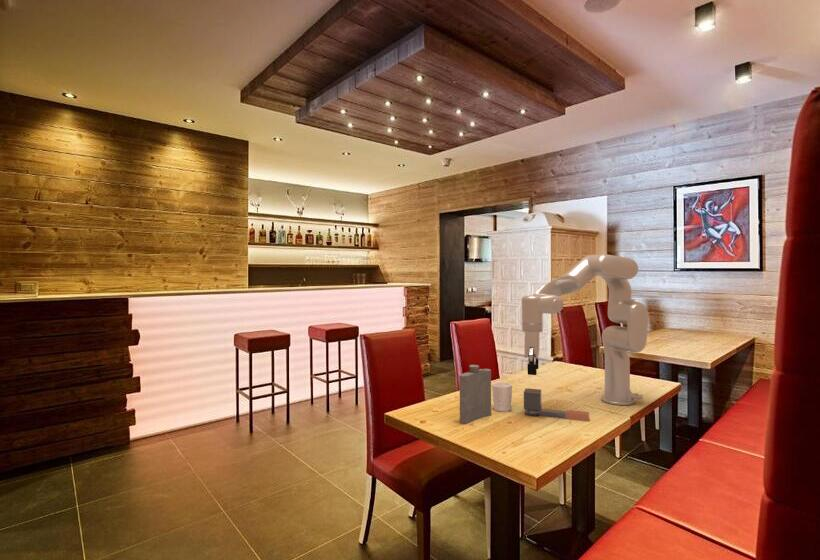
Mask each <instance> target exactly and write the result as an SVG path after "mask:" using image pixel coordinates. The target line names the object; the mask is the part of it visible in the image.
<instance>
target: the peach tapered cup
mask: <svg viewBox="0 0 820 560" xmlns="http://www.w3.org/2000/svg"><path fill="white" fill-rule="evenodd" d="M491 394H492V403H493V410H495V411H497V412H510V411H511V410H512V397H513V384H512V383H510V382H506V381H495V382H491Z"/></svg>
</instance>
